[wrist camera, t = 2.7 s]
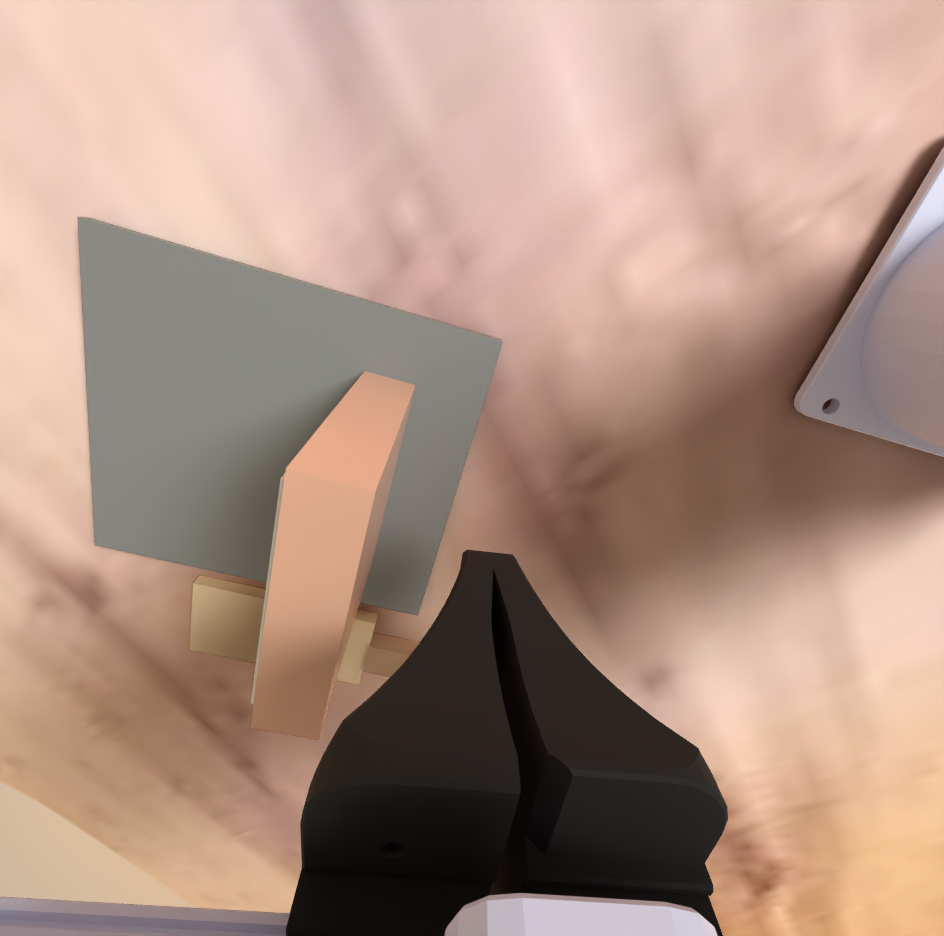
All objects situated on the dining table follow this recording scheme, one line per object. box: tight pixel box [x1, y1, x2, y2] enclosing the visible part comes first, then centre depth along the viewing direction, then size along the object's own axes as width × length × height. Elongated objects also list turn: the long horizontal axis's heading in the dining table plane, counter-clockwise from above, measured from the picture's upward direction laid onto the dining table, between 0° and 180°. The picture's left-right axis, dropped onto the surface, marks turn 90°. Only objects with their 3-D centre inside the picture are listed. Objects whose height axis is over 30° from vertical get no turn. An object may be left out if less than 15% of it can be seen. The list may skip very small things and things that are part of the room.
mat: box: [78, 217, 502, 615], centre depth 16 cm, size 12×11×1 cm
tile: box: [250, 371, 415, 740], centre depth 13 cm, size 2×7×7 cm, turn 164°
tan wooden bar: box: [189, 575, 420, 685], centre depth 20 cm, size 16×4×1 cm, turn 74°
